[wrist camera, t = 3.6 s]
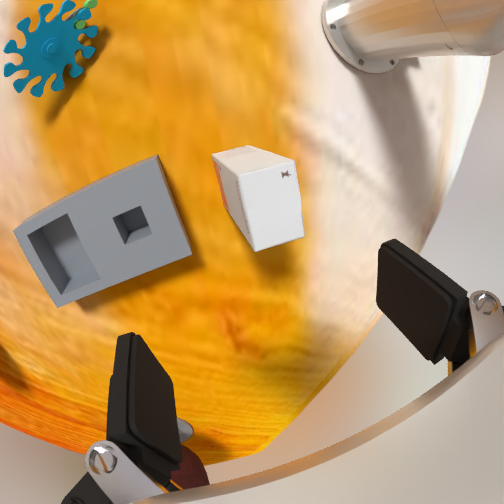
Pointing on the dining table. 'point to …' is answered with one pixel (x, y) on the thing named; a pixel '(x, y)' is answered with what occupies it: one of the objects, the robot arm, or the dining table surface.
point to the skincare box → (261, 195)
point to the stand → (105, 233)
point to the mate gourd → (189, 463)
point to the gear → (51, 46)
